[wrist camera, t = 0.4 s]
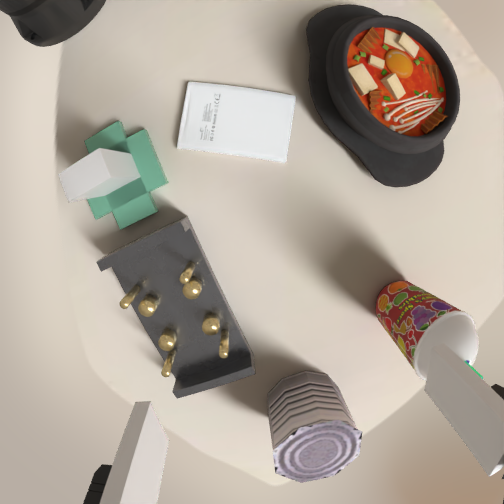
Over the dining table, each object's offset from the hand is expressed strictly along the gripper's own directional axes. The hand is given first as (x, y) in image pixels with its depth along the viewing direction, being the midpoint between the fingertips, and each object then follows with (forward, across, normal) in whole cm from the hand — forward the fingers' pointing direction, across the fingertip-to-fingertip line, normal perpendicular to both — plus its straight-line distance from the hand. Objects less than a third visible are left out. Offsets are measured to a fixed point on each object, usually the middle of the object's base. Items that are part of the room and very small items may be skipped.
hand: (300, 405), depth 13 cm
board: (+26, -15, +13) cm, 32 cm away
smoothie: (+26, +17, -10) cm, 33 cm away
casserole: (+26, +18, +18) cm, 37 cm away
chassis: (+26, -10, -5) cm, 28 cm away
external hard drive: (+27, 0, +16) cm, 31 cm away
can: (+26, +3, -23) cm, 35 cm away
